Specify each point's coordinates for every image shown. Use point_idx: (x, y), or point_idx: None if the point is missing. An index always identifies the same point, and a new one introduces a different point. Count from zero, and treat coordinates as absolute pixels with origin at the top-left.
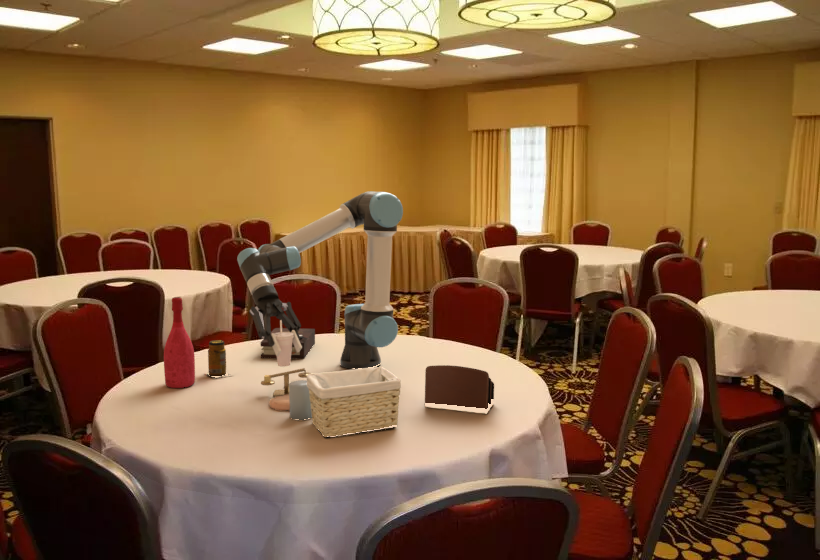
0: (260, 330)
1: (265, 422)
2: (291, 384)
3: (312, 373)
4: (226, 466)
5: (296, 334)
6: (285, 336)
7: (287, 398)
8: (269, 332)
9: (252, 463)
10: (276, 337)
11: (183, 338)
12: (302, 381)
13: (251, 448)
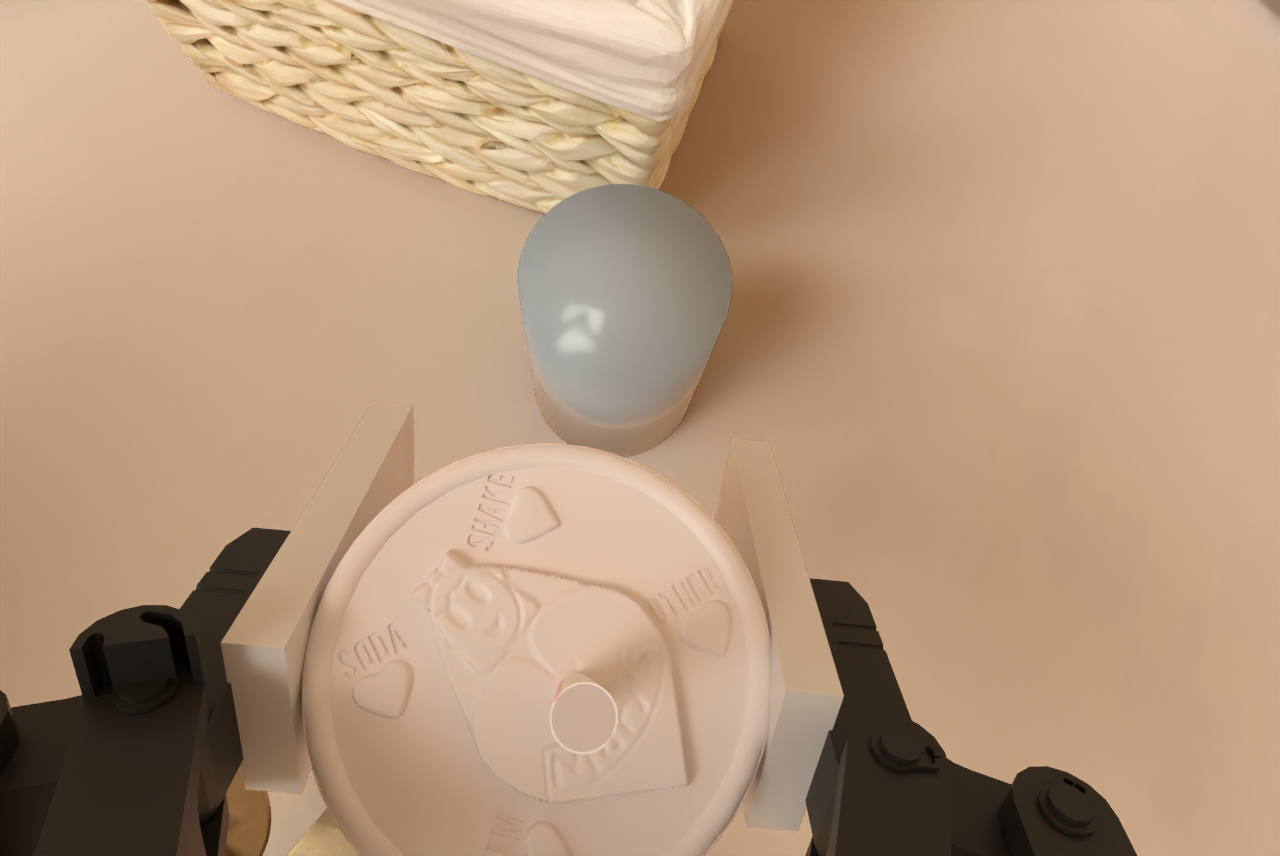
0: (1133, 853)
1: (854, 439)
2: (705, 314)
3: (645, 14)
4: (1251, 74)
5: (240, 607)
6: (620, 460)
7: None
8: (896, 725)
9: (1142, 30)
10: (748, 607)
11: None
12: (576, 323)
13: (1083, 166)
